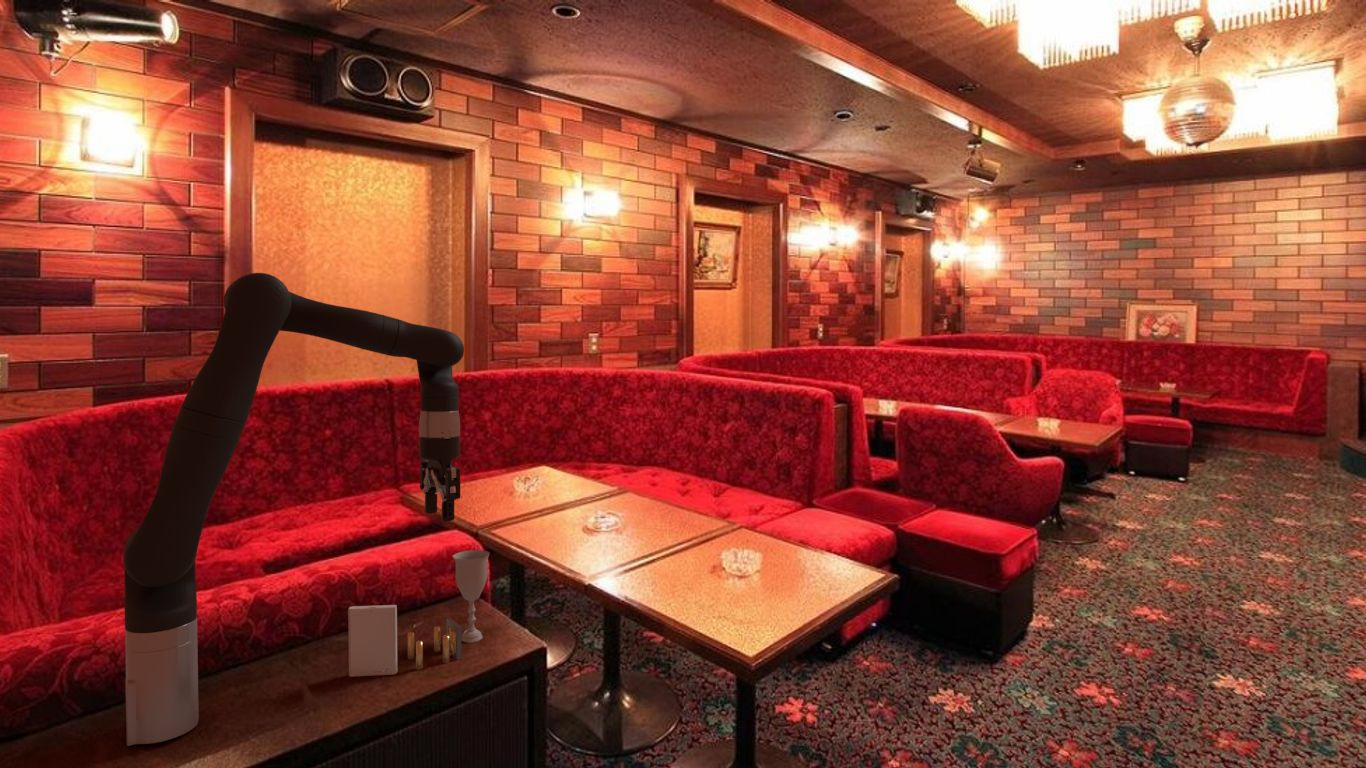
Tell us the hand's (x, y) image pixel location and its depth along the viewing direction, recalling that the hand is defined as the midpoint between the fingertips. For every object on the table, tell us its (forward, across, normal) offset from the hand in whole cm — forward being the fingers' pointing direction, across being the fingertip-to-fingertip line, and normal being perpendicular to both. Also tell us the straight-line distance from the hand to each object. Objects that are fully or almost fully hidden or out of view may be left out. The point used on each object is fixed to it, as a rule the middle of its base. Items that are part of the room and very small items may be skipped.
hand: (439, 516), depth 139 cm
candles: (+27, +2, -3) cm, 27 cm away
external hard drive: (+27, +2, -13) cm, 30 cm away
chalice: (+27, -1, +7) cm, 28 cm away
